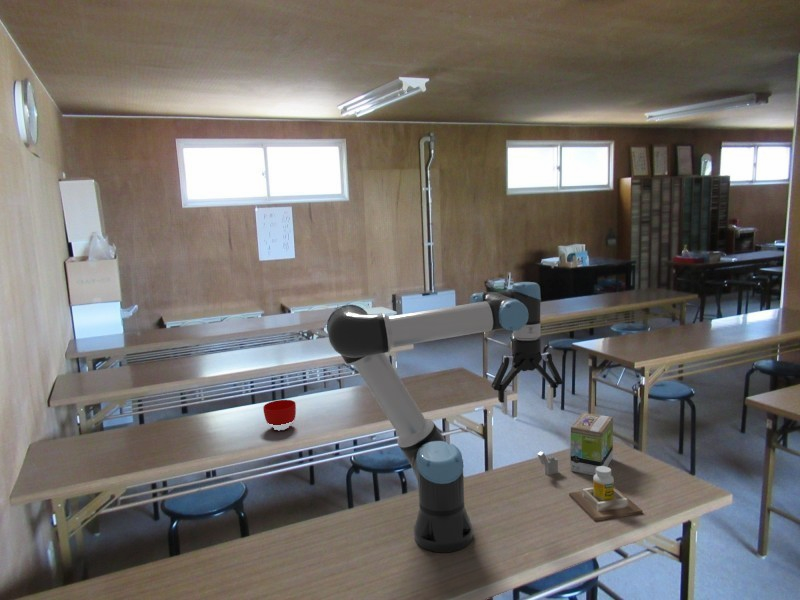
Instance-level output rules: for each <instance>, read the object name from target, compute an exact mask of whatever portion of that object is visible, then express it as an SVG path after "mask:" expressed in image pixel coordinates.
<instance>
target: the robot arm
mask: <svg viewBox="0 0 800 600" xmlns="http://www.w3.org/2000/svg"><path fill="white" fill-rule="evenodd" d="M469 298H470V299H469V303H466V304H460V305H454V306H446V307H441V308H433V309H427V310H422V311H415V312H409V313H401V314H397V315H389V316H388V315H387V314H385V313H383V312H380V313H374V314H373V313H372V314H371V313H368V312H367V310H365V309H364V308H362V307H361V306H360V305H356V304H352V303H351V304H348V303H347V304H343V305H340V306H338V307H337V308H335V309H334V310H333V311H332V312H331V314H330V315H329V317H328V319H327V322H326V331H327V335H328V341H329V343H330V346H331V347H332V348H333V349H334V351H335V352H336V353H338V354H339V355H340V356H341V358H342V359H343V361H344V363H345V364H346V365H348V366H349V365H350V366H354V368H355V369H356V370H357V372H358V373H359V376H361V378H362V380H363V382H364V383H365V384H366V386H367V388H368V389H369V391H370V392H371V394H372V395H373V397H374V399H375V400H376V402H377V403H378V405H379V406H380V408H381V410H382V412H383V413H384V415H385V416H386V417H387V419H388V421H389V422H390V424H391V426H392V427H393V428H394V431H395V432H396V434H397V435H398V438H397V445H398V447H399V449H400V450H401V451H402V453H403V455H404V456H405V457H406V459H407V461H408V462H409V464H410V466H411V468H412V470H413V473H414V475H415V478H416V481H417V486H418V487H417V489H418V505H419V509H418V512H417V516H416V519H415V523H414V526H413V527H414V528H413V534H414V540H415V542H416V544H417V545H419V547H421V548H423V549H424V550H427V551H430V552H435V553H452V552H457V551H459V550H462V549H464V548H465V547H467V546H468V545H470V543H471V541H472V540H473V537H474V536H473V535H474V533H473V525H472V522H471V519H470V517H469V514H468V512H467V510H466V507H465V487H464V485H465V484H464V483H465V482H464V481H465V480H464V459H463V454H462V452H461V450H460V448H458V447H457V446H456V445H455V444H452V443H449V442H448V441H446V439H445V437H444V435H443V434H442V433H441V432H440V429H438V427H437V425H436V423H435V422H434V421H433V420H432V419H429V418H425V416H424V414H423V413H422V412H421V410H420V408H419V406H418V405H417V403H416V402H415V400H414V399H413V397H412V395H411V394H410V393H409V390H408V389H407V387H406V385H405V384H404V382H403V380H402V379H401V377H400V376H399V374H398V373H397V370H396V369H395V368H394V367H393V364H392V363H391V361H390V360H389V358H388V356H387V354H386V353H389V352H390V351H391V350H392V349H393V348H396V347H400V346H401V347H402V346H407V345H413V344H419V343H425V342H431V341H436V340H442V339H443V340H444V339H448V338H449V339H450V338H455V337H456V338H457V337H461V336H466V335H467V336H468V335H472V334H480V333H483V332H484V333H486V332H491V331H498V330H507V331H511V332H512V337H514V338H513V339H512V350H513V351H512V352H513V354H512V356H511V355H510V356H507V355H502V357H501V363H500V366H499V368H498V370H497V373H496V374H495V377H494V379H493V381H492V383H491V388H492V389H493V390H495V391H497V396H498V397H497V399H498V402H499V403H501V413H502V414H504V415H508V392H507V390H506V389H507V388H508V387H509V386H510V384H511V383H512V382H513V380H514V379H515V377H516V376H517V374H519V373H520V372H527V371H535V369H536V371H538V373H539V375H541V376H542V377H543V378H544V380H545V381H546V382H547V383H548V385H546V407H547V408H548V410H550V411H554V398H557V388H559V385H562V384H564V381H563V379H562V378H561V375H560V373H559V372H558V369H557V367H556V365H555V363H554V361H553V355H552V353H550V352H548V351H544V353H541V346H542V345H541V343H542V342H541V341H542V339H541V338H540V337H541V302H542V298H541V286H540V285H539V284H538V283H537V282H533V281H532V282H531V281H519V282H514V283H513V284H512V288H511V290H507V291H506V290H505V291H488V292H485V291H482V292H476V293H472V295H471V296H470V297H469ZM542 360H543V361H545V364H546V365H547V367H548V369H549V371H550V373H551V375H552V377H553V378H552V377H551V376H550V374H549V373H547V371H546V370H545V369H544V368H543V366H541V364H540V363H541V361H542ZM511 362H513V365H511V369H510V370H509V371H508V368H509V365H510V364H511ZM507 371H508V372H507ZM505 374H506V375H505Z"/></svg>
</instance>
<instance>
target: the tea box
mask: <svg viewBox="0 0 800 600" xmlns="http://www.w3.org/2000/svg"><path fill="white" fill-rule="evenodd" d="M613 437H614V417H613V416H607V415H602V414H600V415H599V414H595V413H587V412H582V413H581V415H579V417H578V418H577V420H576V421H575V422H574V423H572V426H571V427H570V463H569V465H570V468H569V469H570V470H569V471H571V472H574V473H575V472H576V473H580V474H583V475H588V476H589V475H590V476H594V475H595V474H596V467H598V466H606V467H608V466H609V465H610V463H611V461H612V460H613V457H614V456H613V452H614V450H613V448H614V447H613V446H614V445H613V443H614V438H613Z"/></svg>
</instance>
